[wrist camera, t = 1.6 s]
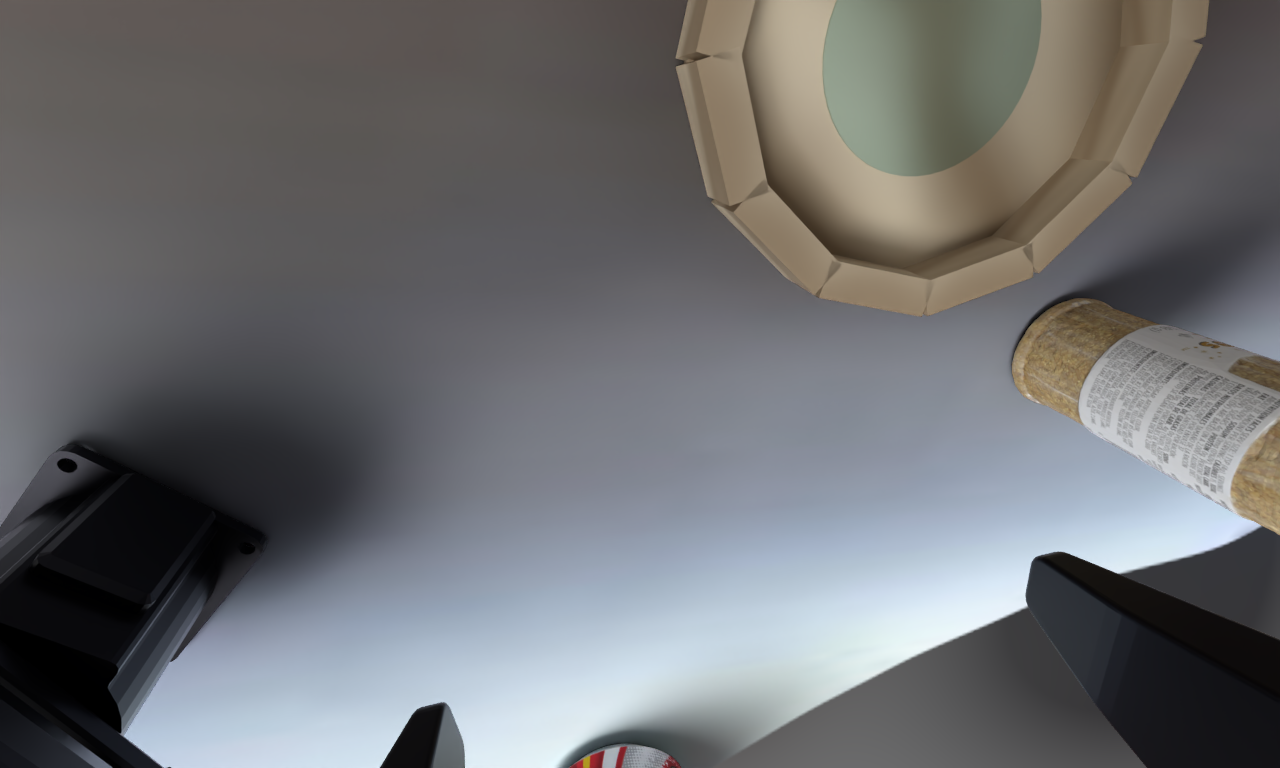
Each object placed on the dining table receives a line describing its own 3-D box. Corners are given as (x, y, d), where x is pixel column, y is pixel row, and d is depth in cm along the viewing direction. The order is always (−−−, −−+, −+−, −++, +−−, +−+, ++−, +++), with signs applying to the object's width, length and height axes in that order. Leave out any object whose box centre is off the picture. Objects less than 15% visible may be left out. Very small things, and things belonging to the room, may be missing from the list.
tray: (877, 371, 23) (912, 395, 21) (576, 65, 17) (584, 59, 15) (1209, 45, 20) (1283, 38, 18) (988, -457, 14) (1065, -548, 12)
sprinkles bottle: (1129, 321, 24) (1728, 526, 12) (1056, 415, 26) (1533, 684, 14) (1056, 274, 23) (1659, 456, 11) (982, 377, 24) (1448, 642, 12)
